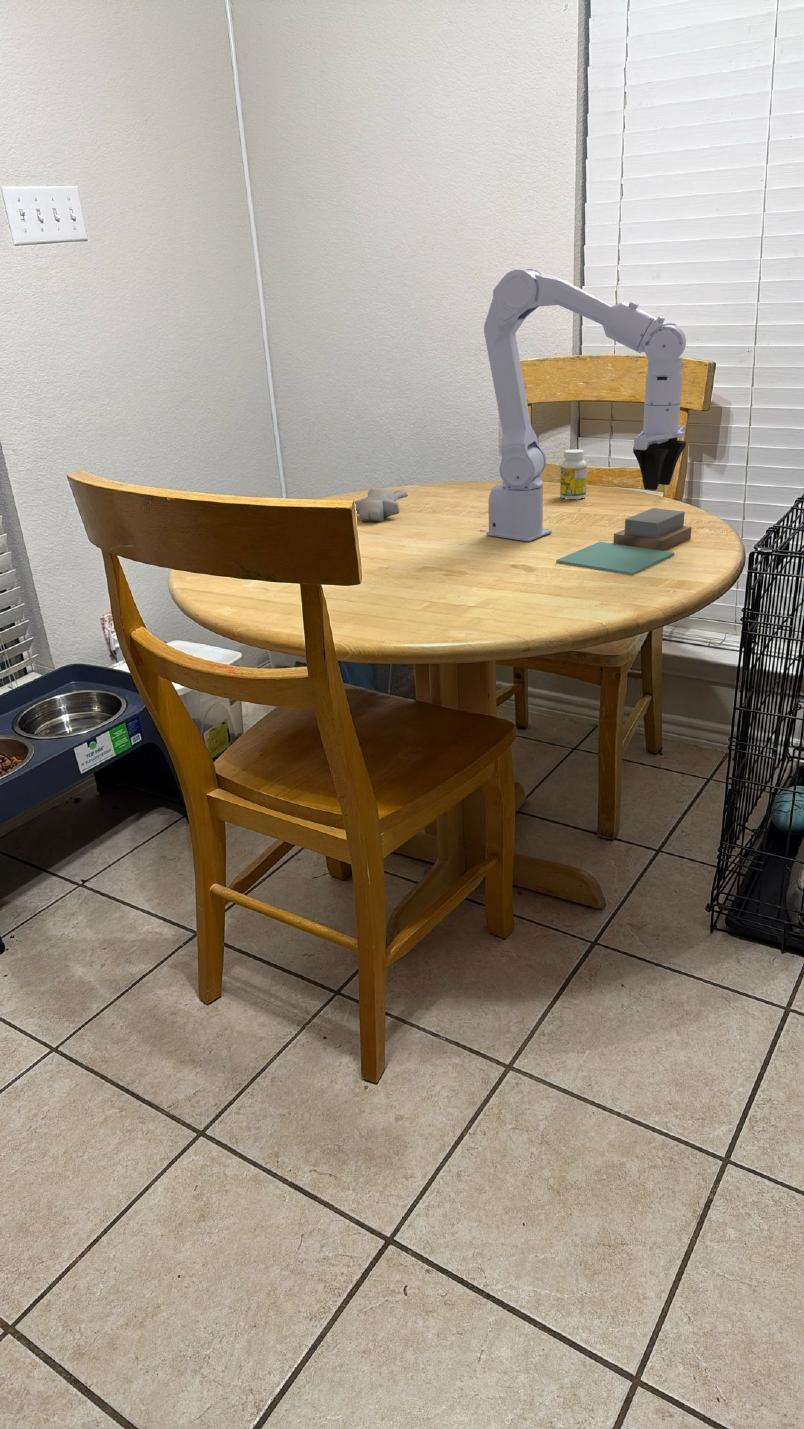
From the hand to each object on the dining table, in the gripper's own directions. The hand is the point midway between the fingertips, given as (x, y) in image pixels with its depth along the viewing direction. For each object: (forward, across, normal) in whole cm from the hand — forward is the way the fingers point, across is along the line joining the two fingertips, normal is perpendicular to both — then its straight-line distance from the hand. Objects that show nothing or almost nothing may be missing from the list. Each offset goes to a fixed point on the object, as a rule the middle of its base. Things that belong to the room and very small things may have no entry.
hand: (657, 486), depth 165 cm
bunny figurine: (+10, -9, +56) cm, 58 cm away
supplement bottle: (+10, +24, +31) cm, 40 cm away
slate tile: (+7, 0, 0) cm, 7 cm away
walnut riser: (+9, 0, 0) cm, 9 cm away
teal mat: (+9, -13, 0) cm, 16 cm away
